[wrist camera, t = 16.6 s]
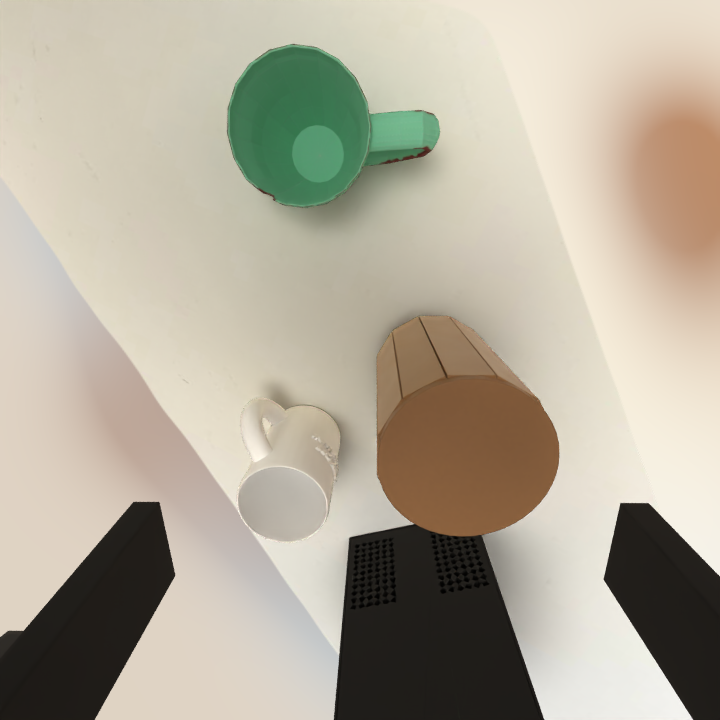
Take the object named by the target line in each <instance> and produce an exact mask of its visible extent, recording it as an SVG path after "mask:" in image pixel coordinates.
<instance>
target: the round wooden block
mask: <svg viewBox="0 0 720 720" xmlns="http://www.w3.org/2000/svg"><path fill="white" fill-rule="evenodd" d="M558 464H559V442H558V438H557V433H556V431H555V428H554V426H553V423H552V421H551V420H550V418H549V416H548V415H547V413H546V412H545V411H544V409H543V407H542V405H541V403H540V401H539V399H538V398H537V397H536V396H535V395H534V394H533V393H532V392H531V391H530V390H529V389H528V388H527V387H526V386H525V384H524V383H523V382H522V381H521V380H520V379H519V378H518V377H517V376H516V375H515V374H514V373H513V372H512V371H511V370H510V368H509V367H508V366H507V365H506V364H505V363H504V362H503V361H502V360H501V359H500V358H499V357H498V356H497V355H496V354H495V352H494V351H493V350H492V349H491V348H490V347H489V346H488V345H487V344H486V343H485V342H484V341H483V340H482V339H481V338H480V337H479V335H478V334H477V333H476V332H475V331H474V330H472V329H471V328H469V327H467V326H465V325H464V324H462V323H460V322H459V321H457V320H455V319H453V318H452V317H448V316H419V318H418V317H416V318H414V319H412V320H410V321H409V322H407V323H405V324H403V325H401V326H400V327H398V328H396V329H394V330H393V332H391V333H390V335H389V336H388V338H387V340H386V341H385V343H384V344H383V346H382V348H381V349H380V351H379V353H378V354H377V476H378V479H379V480H380V483H381V485H382V488H383V491H384V492H385V494H386V496H387V498H388V499H389V501H390V502H391V503H392V505H393V506H394V507H395V508H396V509H397V510H398V511H399V512H400V513H401V514H402V515H403V516H404V517H406V518H407V519H408V520H409V521H411V522H413V523H414V524H416V525H418V526H420V527H422V528H424V529H427V530H429V531H432V532H436V533H439V534H444V535H449V536H476V535H483V534H487V533H491V532H495V531H498V530H501V529H503V528H506V527H508V526H510V525H512V524H514V523H516V522H517V521H519V520H520V519H522V518H523V517H525V516H526V515H527V514H529V513H530V512H531V511H532V510H533V509H534V508H535V507H536V506H537V505H538V504H539V503H540V502H541V501H542V499H543V498H544V497H545V495H546V494H547V493H548V491H549V489H550V487H551V486H552V484H553V481H554V478H555V476H556V473H557V469H558Z"/></svg>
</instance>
